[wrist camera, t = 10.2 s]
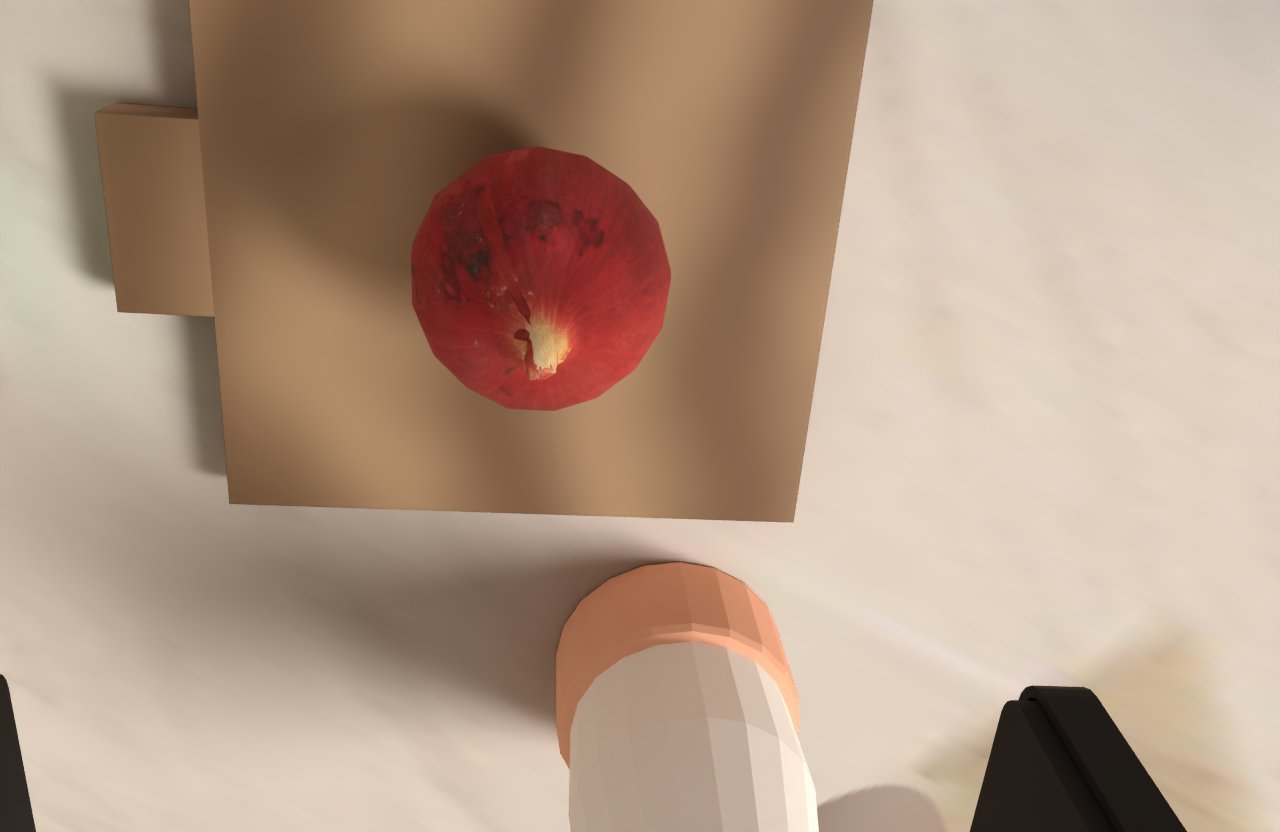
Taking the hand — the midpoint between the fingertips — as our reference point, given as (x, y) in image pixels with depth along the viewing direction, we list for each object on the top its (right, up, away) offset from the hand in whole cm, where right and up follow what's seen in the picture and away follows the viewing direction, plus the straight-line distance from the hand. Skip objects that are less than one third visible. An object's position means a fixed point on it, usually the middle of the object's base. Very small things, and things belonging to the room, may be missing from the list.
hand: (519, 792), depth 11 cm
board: (-3, +9, +19) cm, 21 cm away
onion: (-1, +8, +18) cm, 20 cm away
